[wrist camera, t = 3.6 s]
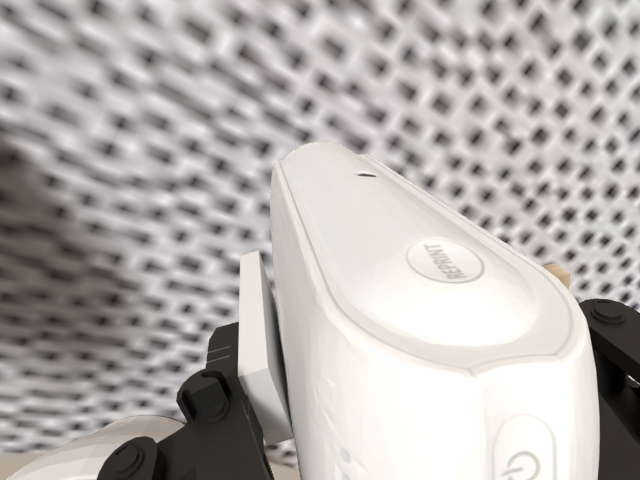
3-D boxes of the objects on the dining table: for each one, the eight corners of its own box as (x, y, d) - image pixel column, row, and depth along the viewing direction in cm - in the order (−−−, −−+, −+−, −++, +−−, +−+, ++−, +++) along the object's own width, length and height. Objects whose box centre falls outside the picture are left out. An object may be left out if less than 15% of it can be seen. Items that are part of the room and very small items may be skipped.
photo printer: (259, 140, 13) (337, 486, 2) (373, 133, 14) (858, 377, 3) (279, 358, 18) (338, 838, 7) (365, 345, 18) (548, 760, 7)
